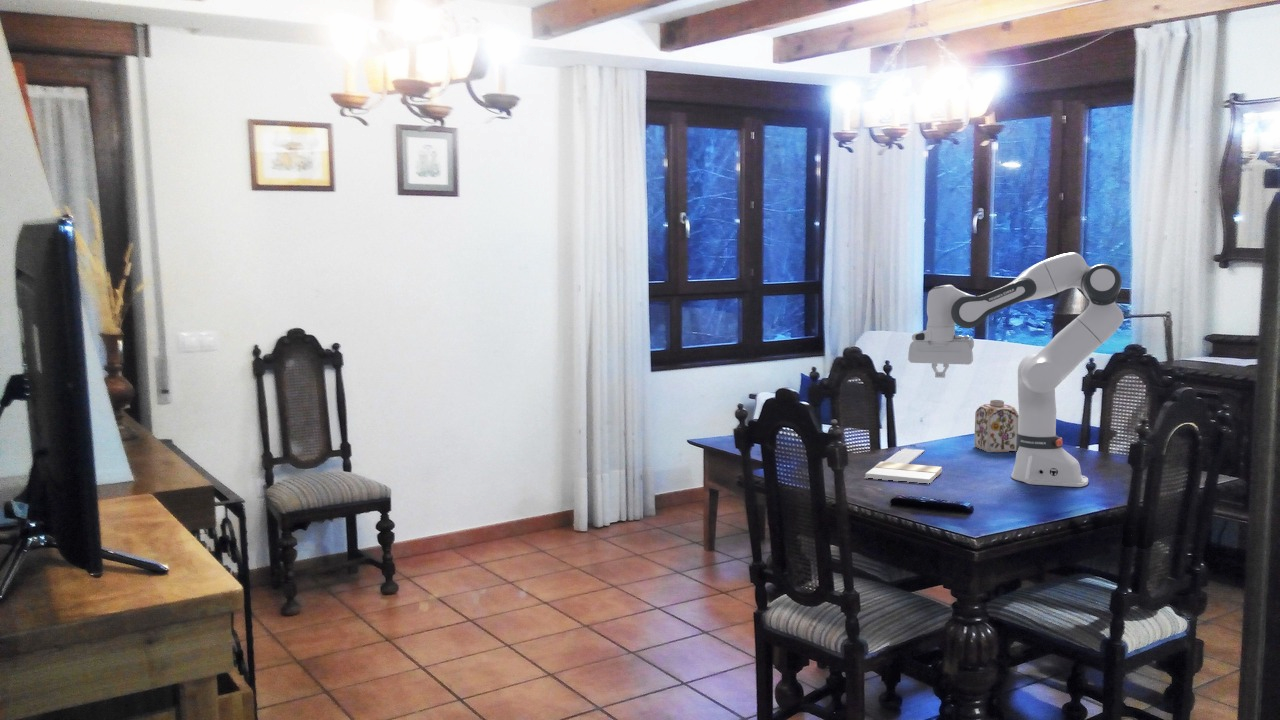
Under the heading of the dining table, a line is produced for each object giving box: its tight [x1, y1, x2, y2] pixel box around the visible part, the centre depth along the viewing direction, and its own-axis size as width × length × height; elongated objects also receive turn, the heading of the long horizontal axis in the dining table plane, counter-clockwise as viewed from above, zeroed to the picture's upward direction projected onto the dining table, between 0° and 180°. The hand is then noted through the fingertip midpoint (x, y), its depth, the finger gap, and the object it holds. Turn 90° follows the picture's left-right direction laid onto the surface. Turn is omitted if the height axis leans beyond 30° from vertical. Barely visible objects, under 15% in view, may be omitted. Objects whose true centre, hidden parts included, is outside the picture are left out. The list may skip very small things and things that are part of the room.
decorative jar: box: [973, 399, 1019, 453], centre depth 373 cm, size 12×12×18 cm
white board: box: [864, 467, 937, 485], centre depth 328 cm, size 20×10×2 cm, turn 62°
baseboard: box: [883, 444, 926, 464], centre depth 359 cm, size 30×3×10 cm
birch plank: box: [873, 461, 943, 477], centre depth 336 cm, size 20×8×2 cm, turn 62°
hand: (940, 377), depth 336 cm, fingers closed
